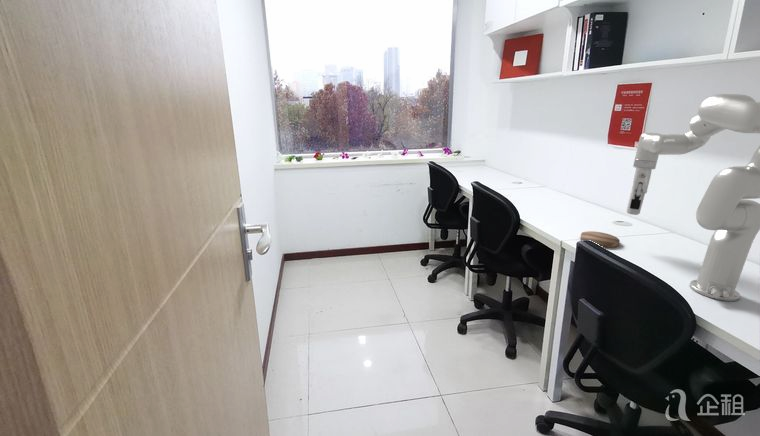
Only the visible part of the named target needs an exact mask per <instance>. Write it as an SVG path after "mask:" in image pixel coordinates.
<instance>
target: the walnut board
mask: <svg viewBox="0 0 760 436" xmlns="http://www.w3.org/2000/svg"><path fill="white" fill-rule="evenodd" d="M579 239H580V241H582V240H591V241H593V242H595V243H597V244H599V245H600V246H603V247H605V248H606V249H615V248H618V247H619V245H620V242H621V241H620V239H619V238H618V237H617V236H615V235H612V234H610V233H605V232H600V231H594V230H593V231H584V232H581V233H580V237H579ZM605 248H604V249H605Z"/></svg>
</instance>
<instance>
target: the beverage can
mask: <svg viewBox="0 0 760 436" xmlns="http://www.w3.org/2000/svg"><path fill="white" fill-rule="evenodd" d="M630 191H631V192H630V195H629V198H628V199H629V200H628V203H627V206H626V207H627V208H626V213H627V214H629V215H634V216H638V215H639V214H641V210H642V206H643V203H644V199H645V195H646V194H645V192H642V196H641V203H640V207H639V209H631V208H630V205H631V200H632V199H633V195H634V192H633V185H632V186H631V190H630ZM635 192H637V190H636V191H635ZM635 194H636V193H635Z"/></svg>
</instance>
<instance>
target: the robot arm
mask: <svg viewBox="0 0 760 436" xmlns="http://www.w3.org/2000/svg"><path fill="white" fill-rule="evenodd" d="M689 129H690V131H688V132H686V133H683V134H678V133H677V134H671V133H670V134H669V133H668V134H662V133H657V132H643V133H641V134H640V136H639V140H638V145H637V149H636V152H635V158H634V161H633V165H632V167H633V168H635V172H634V177H633V182H632V186H633V192H634V195H633V199H632V200H631V205H630V208H631V209H639V207H640V203H641V196H642V192H645V195H646V194H647V192H648V189H649V185H650V181H651V176H652V171H653V170H656V167H657V164H658V163H657V162H658V159H659V156H661V155H662V156H665V155H666V156H667V155H670V156H671V155H676V156H677V155H679V156H680V155H685V154H688V153H691V152H693V151H695V150H698V149H699V148H701V147H703V146H705V145H706V144H707V143H708V142H709V140H710V139H711V137H712V136H715V135H716V134H719V133H720V132H723V131H725V130H728V131H729V130H730V131H733V132H737V133H741V134H760V102H759V101H758V102H757V101H756V100H755V99H754V98H753V97H751V96H750V95H746V94H741V93H739V94H738V93H737V94H736V93H735V94H734V93H729V94H728V93H718V94H713V95H710V96H709V97H707V98H705V99H704V100H703V101H702V102H701V103H700V104H699V106H698V110H697V114H696V115H694V116H692V117H691V119H690V120H689ZM636 190H637V192H635V191H636ZM635 193H636V194H635ZM752 199H753V200H752ZM755 199H760V145H759V146H758V147H757V148H756V149H755V151H754V152H753V155H752V157H751V158H750V160H749V162H748V163H747V164H746V165H743V166H730V167H729V166H728V167H727V168H724V169H722V170H720V171H719V172H718V173H717V174H716V175H714V177H713V178H712V180H711V181H710V183H709V185H708V187H707V189H706V191H705V193H704V194H703V197H702V199H701V201H700V202H699V203H698V204H699V205H698V206H697V209H696V213H695V219H696V222H697V224H698V225H699V226H700V227H701V228H703V229H705V230H707V231H708V230H709V231H714V232H713V234H712V235H711V238H710V240H709V243H708V246H707V249H706V252H705V255H704V258H703V261H702V265H701V267H700V271H699V274H698V275H697V276H698V277H697V279H693V280H691V281H690V282H689V287H690V288H691V289H692V290H693V291H695V292H697V293H698V294H701V295H703V296H705V297H708V298H711V299H714V298H715V300H719V301H726V302H727V301H728V302H735V301H738V300H740V298H741V294H740V292H738V291H737V290H736V288H737V286H738V283H739V281H740V278H741V275H742V272H743V269H744V266H745V263H746V261H747V258H748V256H749V253H750V250H751V248H752V245H753V243H754V240H755V238H756V236H757V234H758V233H759V232H760V203H759V202H758V201H755Z"/></svg>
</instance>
